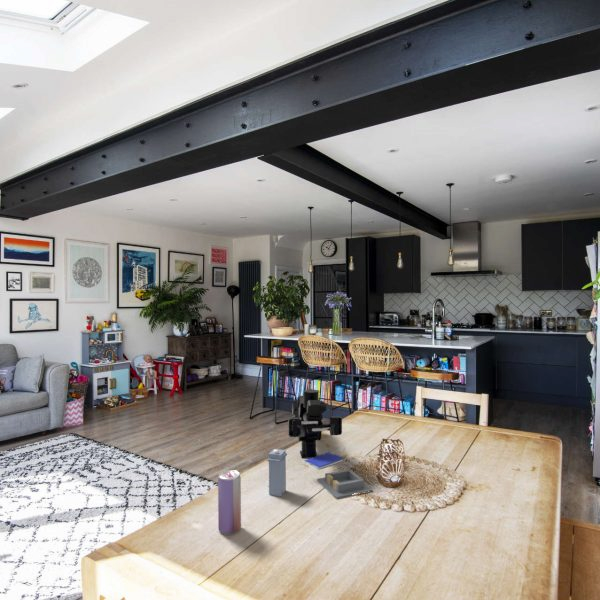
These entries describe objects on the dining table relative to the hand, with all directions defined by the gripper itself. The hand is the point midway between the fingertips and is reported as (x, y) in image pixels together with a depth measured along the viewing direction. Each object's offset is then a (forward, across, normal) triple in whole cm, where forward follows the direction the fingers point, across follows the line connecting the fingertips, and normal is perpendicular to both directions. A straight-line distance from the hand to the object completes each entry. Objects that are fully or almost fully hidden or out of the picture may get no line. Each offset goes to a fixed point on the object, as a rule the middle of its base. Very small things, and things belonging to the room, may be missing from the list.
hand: (318, 434), depth 144 cm
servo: (+5, -14, +17) cm, 22 cm away
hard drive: (-18, +5, +17) cm, 26 cm away
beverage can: (+25, -28, +17) cm, 41 cm away
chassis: (+3, +8, +16) cm, 19 cm away
